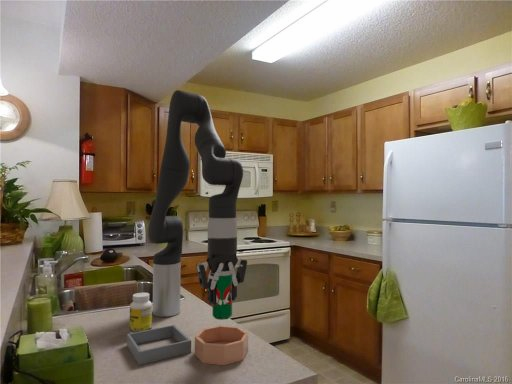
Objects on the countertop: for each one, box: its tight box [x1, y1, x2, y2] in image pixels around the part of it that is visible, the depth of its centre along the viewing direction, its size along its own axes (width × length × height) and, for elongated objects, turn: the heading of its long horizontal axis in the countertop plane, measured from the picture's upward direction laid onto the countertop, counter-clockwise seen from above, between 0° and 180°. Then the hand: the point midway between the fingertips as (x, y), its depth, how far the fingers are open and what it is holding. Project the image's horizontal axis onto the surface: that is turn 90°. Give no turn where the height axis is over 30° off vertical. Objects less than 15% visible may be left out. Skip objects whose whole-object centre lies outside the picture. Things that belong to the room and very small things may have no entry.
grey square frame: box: [126, 324, 192, 366], centre depth 91 cm, size 13×13×3 cm
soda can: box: [211, 270, 233, 321], centre depth 89 cm, size 5×5×12 cm
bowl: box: [194, 325, 249, 366], centre depth 89 cm, size 13×13×4 cm
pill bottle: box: [129, 292, 153, 334], centre depth 102 cm, size 6×6×11 cm
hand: (222, 301), depth 89 cm, fingers closed on soda can, 5 cm apart
